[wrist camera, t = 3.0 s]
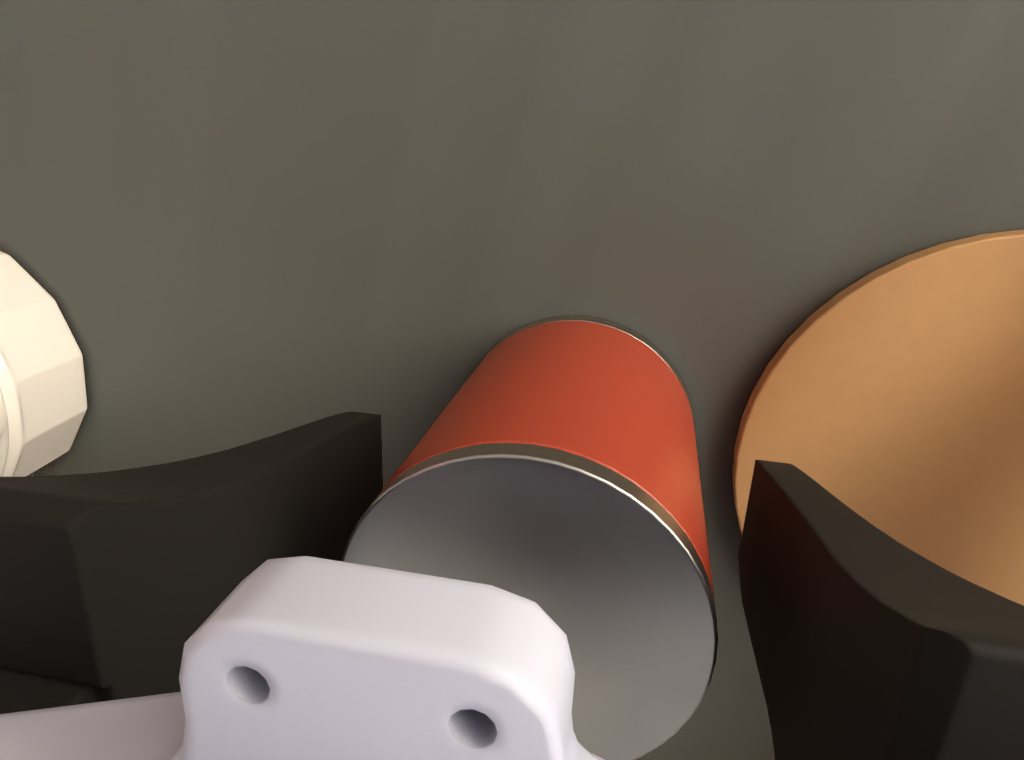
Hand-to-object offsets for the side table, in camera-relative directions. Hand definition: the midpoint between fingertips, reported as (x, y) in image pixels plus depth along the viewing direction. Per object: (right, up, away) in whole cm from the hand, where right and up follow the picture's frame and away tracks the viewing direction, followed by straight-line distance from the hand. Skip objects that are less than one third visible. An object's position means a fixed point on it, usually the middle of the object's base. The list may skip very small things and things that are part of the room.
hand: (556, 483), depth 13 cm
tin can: (+1, +1, +3) cm, 3 cm away
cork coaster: (+9, 0, +1) cm, 9 cm away
